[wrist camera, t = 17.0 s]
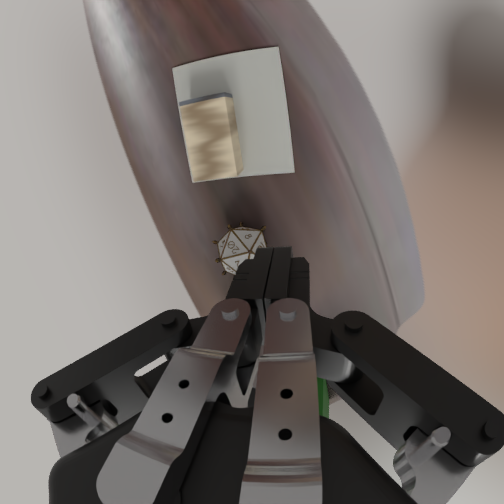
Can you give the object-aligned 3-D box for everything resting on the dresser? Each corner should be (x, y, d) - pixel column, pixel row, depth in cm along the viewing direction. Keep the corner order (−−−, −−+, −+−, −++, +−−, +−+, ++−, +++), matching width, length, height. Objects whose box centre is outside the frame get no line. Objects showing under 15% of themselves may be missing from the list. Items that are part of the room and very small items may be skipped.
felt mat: (294, 172, 36) (294, 172, 36) (193, 182, 39) (192, 182, 39) (278, 47, 27) (278, 46, 27) (173, 68, 31) (172, 68, 30)
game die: (240, 230, 46) (190, 245, 40) (269, 204, 40) (213, 216, 33) (265, 278, 45) (216, 300, 38) (298, 257, 38) (246, 281, 32)
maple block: (224, 92, 28) (237, 176, 33) (232, 93, 31) (243, 169, 37) (178, 102, 29) (193, 181, 35) (190, 102, 33) (203, 174, 38)
